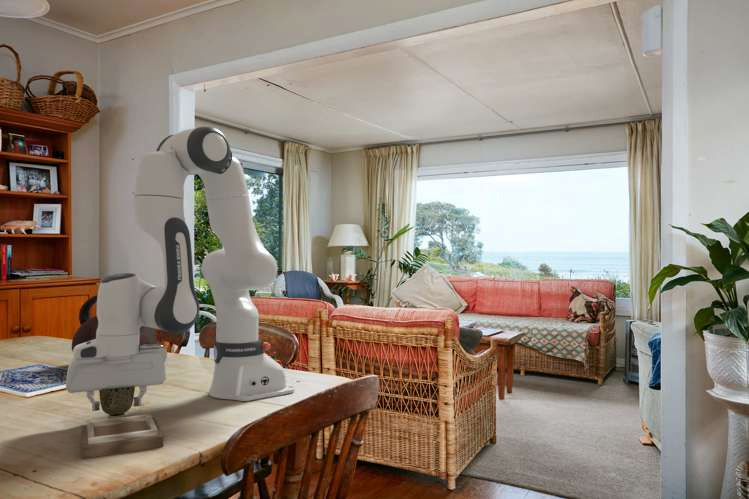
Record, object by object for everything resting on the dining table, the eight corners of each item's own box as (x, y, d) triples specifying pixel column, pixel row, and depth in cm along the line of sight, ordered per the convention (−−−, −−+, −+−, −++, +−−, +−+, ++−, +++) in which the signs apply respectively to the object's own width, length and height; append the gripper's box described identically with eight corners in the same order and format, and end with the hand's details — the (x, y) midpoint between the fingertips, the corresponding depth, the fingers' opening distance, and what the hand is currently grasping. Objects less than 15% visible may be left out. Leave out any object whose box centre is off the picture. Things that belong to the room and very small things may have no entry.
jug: (112, 356, 195) (113, 286, 195) (171, 361, 187) (172, 289, 188) (51, 370, 172) (53, 290, 172) (115, 376, 164) (117, 293, 164)
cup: (93, 419, 122) (93, 384, 122) (127, 413, 127) (127, 378, 127) (105, 427, 117) (105, 390, 117) (139, 420, 122) (140, 384, 122)
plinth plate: (154, 425, 118) (154, 412, 118) (163, 446, 106) (163, 431, 106) (81, 435, 112) (81, 420, 112) (81, 458, 99) (82, 442, 99)
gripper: (165, 341, 130) (164, 399, 130) (66, 347, 120) (65, 409, 120) (169, 345, 124) (168, 405, 124) (66, 351, 114) (64, 417, 114)
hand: (116, 408), depth 122 cm, fingers closed on cup, 7 cm apart
